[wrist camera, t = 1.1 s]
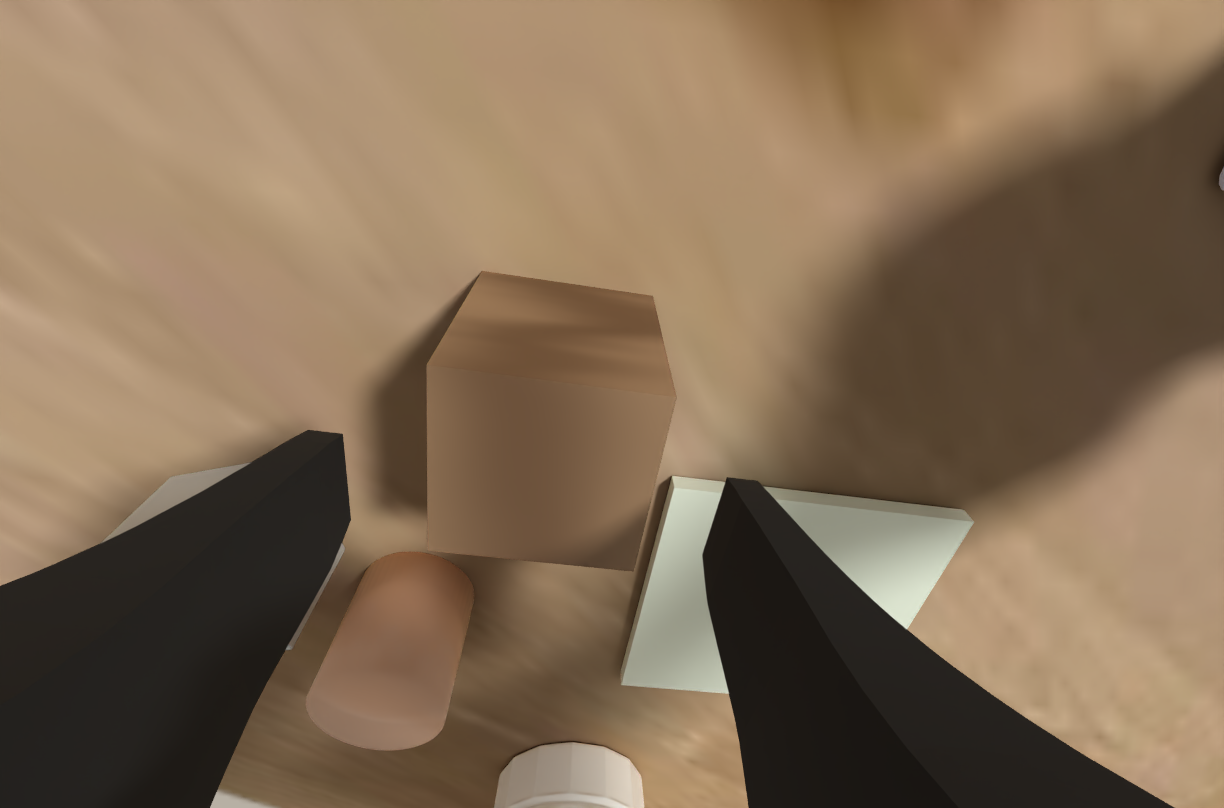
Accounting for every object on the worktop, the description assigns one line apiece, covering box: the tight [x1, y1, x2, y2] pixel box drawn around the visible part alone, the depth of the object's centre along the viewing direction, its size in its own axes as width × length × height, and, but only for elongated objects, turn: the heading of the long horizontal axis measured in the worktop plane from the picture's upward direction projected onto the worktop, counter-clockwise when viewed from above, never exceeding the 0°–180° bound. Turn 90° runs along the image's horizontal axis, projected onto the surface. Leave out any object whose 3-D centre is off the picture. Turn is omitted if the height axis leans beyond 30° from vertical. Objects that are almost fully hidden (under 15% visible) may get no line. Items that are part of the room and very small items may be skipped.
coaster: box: [621, 476, 974, 694], centre depth 21 cm, size 10×10×1 cm
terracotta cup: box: [306, 552, 474, 750], centre depth 19 cm, size 4×4×4 cm
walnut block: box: [427, 271, 677, 571], centre depth 14 cm, size 4×4×6 cm
